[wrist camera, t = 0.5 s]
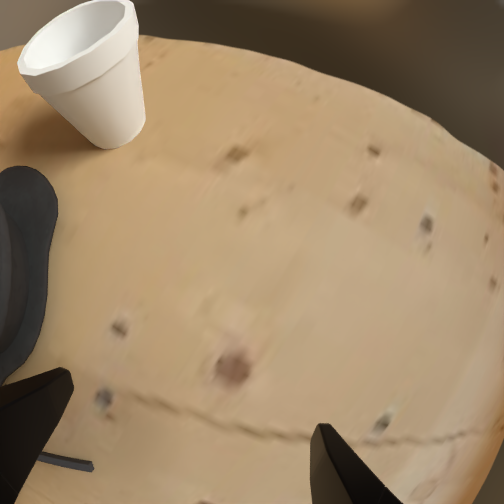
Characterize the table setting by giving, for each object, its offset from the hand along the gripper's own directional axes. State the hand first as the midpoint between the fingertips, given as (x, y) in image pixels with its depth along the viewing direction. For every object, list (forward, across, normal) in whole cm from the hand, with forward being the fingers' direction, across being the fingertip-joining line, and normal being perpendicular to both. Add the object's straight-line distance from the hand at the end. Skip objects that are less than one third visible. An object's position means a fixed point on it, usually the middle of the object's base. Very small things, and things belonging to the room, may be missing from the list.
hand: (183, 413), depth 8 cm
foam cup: (+20, +14, -12) cm, 28 cm away
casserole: (+12, +25, +4) cm, 28 cm away
